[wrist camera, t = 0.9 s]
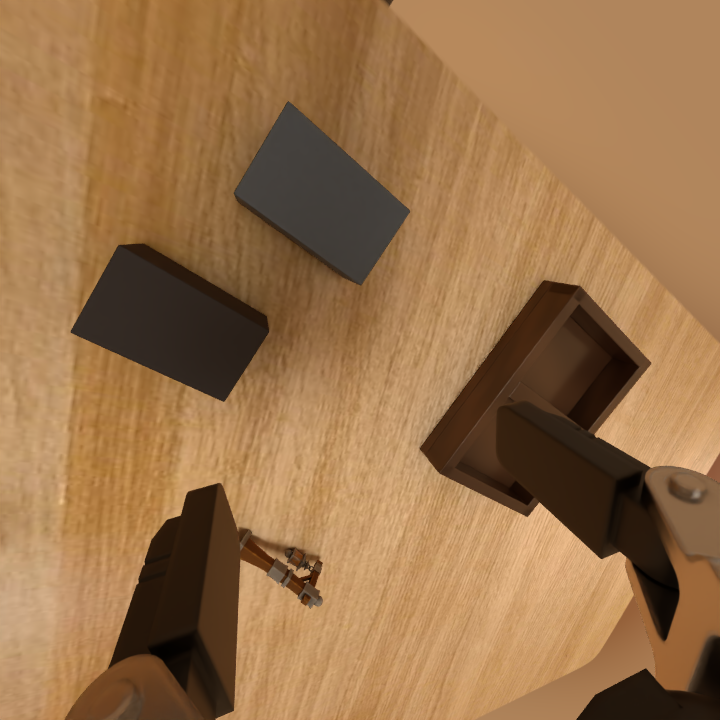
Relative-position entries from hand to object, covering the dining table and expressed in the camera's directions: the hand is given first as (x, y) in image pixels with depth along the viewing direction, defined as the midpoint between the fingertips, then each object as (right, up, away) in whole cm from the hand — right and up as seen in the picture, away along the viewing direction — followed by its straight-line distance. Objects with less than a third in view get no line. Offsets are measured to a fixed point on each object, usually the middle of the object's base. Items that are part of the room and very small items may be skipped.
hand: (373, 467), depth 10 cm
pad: (-3, +13, +12) cm, 18 cm away
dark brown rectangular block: (-11, +6, +12) cm, 17 cm away
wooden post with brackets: (-7, -13, +20) cm, 25 cm away
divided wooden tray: (+14, -1, +22) cm, 26 cm away
